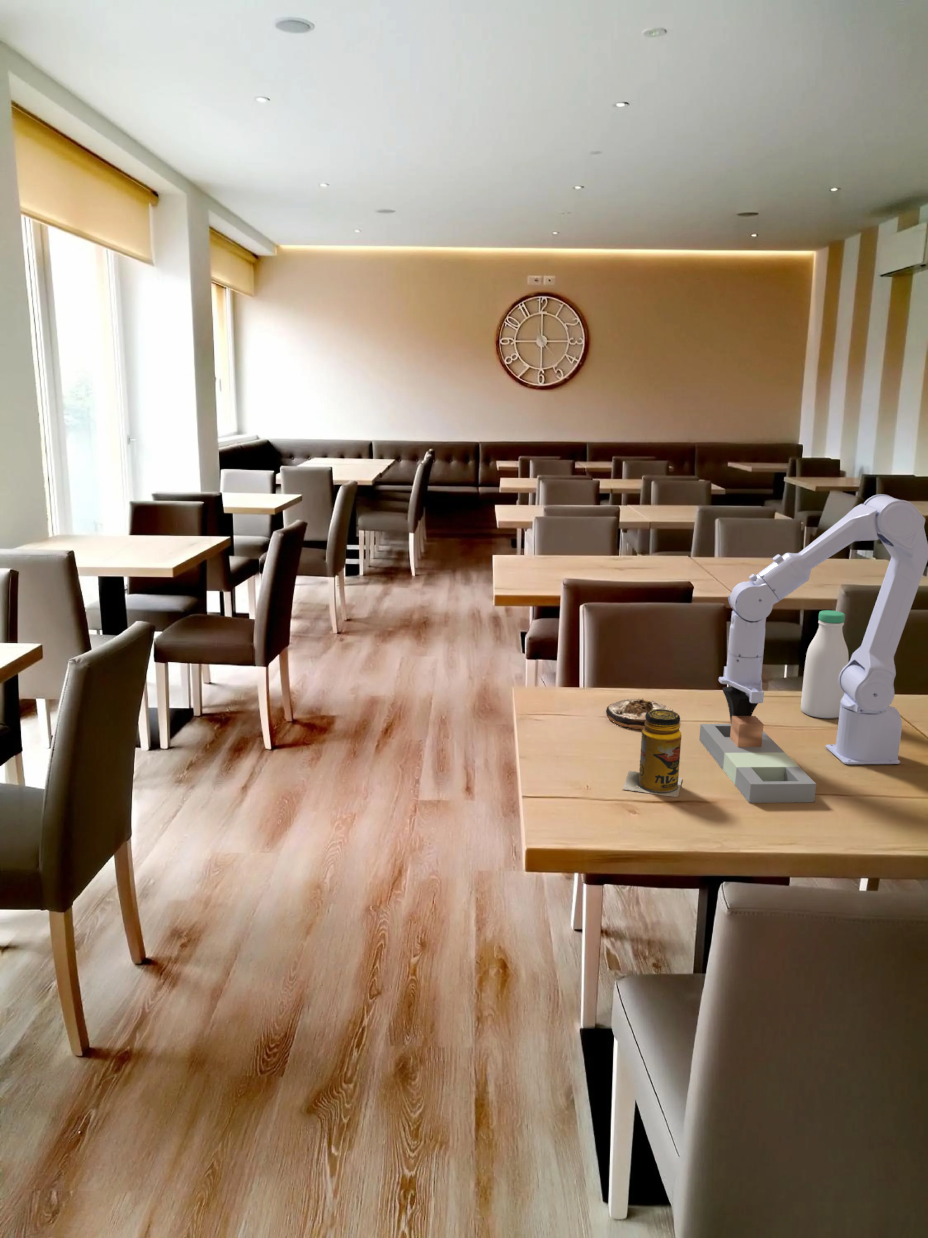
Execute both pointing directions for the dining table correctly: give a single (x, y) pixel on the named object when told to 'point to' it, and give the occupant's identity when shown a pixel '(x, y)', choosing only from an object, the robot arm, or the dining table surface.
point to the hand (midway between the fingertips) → (738, 729)
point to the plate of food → (632, 712)
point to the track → (758, 768)
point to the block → (746, 731)
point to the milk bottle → (825, 667)
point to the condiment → (658, 755)
